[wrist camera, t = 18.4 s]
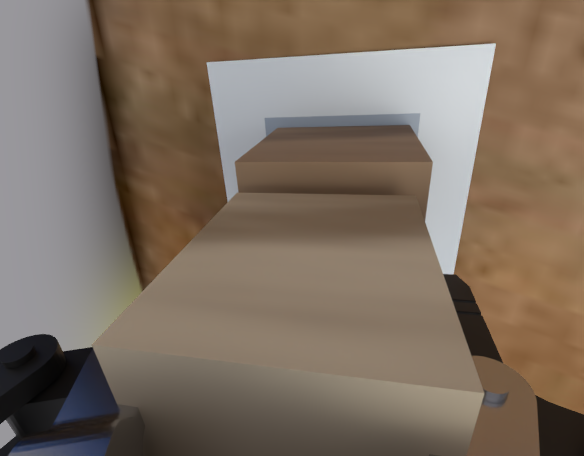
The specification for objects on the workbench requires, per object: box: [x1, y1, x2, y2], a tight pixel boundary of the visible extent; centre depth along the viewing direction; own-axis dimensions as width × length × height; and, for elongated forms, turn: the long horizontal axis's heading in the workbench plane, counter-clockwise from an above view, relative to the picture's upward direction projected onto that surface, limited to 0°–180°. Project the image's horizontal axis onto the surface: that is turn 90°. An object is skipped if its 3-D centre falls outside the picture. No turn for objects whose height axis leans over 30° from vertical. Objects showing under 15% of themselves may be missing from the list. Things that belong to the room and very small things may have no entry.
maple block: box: [92, 193, 484, 456], centre depth 8 cm, size 5×5×6 cm
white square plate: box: [207, 43, 496, 274], centre depth 17 cm, size 12×12×1 cm
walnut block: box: [235, 125, 433, 220], centre depth 14 cm, size 6×6×6 cm
